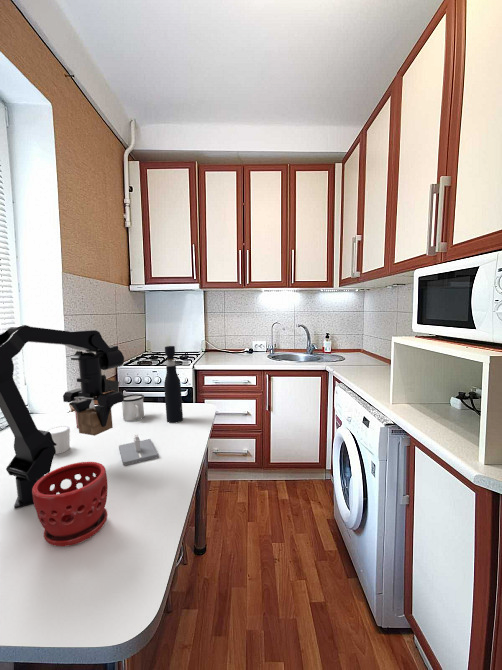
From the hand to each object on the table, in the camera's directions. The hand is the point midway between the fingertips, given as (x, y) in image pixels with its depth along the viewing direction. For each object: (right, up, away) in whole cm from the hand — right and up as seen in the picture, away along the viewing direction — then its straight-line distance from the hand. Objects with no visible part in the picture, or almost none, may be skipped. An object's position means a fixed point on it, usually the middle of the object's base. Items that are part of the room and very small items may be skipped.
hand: (95, 425), depth 98 cm
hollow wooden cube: (0, -2, 0) cm, 2 cm away
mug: (-3, -9, +41) cm, 41 cm away
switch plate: (+10, -11, +7) cm, 16 cm away
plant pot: (+10, -14, -30) cm, 34 cm away
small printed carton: (-21, -10, +36) cm, 43 cm away
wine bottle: (+15, -8, +36) cm, 40 cm away
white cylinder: (-18, -12, +12) cm, 24 cm away
